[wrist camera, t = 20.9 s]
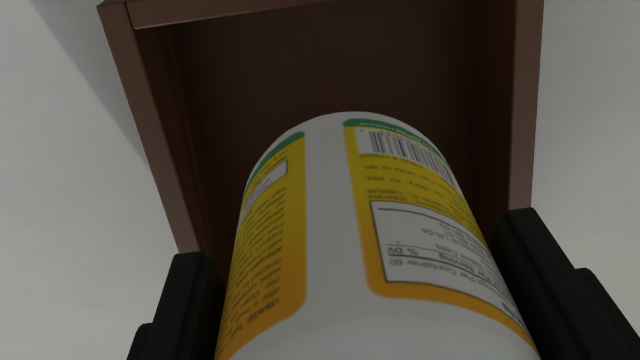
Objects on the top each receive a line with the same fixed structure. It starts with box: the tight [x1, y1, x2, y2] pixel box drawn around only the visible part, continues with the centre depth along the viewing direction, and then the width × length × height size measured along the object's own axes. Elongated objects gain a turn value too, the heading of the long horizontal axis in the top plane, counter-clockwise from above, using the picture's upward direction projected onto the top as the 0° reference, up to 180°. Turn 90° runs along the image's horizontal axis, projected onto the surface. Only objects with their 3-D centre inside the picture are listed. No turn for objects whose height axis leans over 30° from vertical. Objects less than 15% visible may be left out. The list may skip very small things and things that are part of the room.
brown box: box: [97, 0, 544, 291], centre depth 21 cm, size 15×12×5 cm
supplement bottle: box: [214, 112, 542, 360], centre depth 10 cm, size 5×5×10 cm
